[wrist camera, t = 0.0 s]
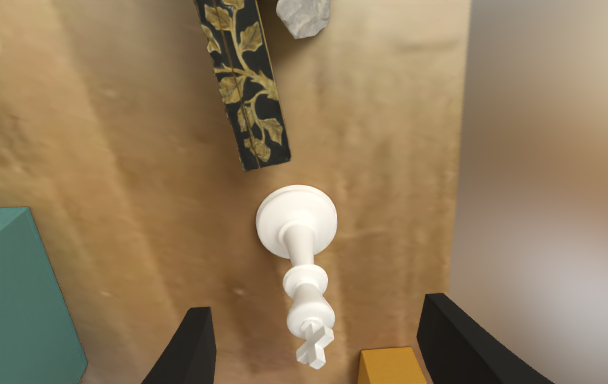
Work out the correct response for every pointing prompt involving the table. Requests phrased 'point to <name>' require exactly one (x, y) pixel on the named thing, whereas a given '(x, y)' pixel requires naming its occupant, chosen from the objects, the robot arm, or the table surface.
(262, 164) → the decorative block
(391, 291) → the table surface
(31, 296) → the teal box
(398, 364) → the cube
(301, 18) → the stone
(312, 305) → the chess piece
